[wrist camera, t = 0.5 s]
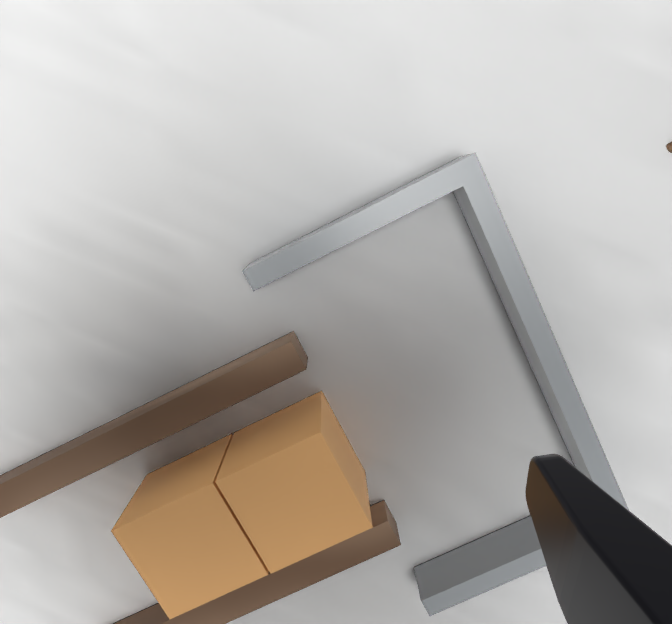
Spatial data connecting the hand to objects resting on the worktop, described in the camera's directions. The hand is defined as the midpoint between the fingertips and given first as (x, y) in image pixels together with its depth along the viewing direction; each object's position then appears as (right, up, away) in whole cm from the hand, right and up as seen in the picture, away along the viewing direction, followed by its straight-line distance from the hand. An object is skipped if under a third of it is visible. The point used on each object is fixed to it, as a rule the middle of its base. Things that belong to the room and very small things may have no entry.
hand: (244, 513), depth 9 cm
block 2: (0, -3, +15) cm, 15 cm away
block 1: (-4, -5, +15) cm, 16 cm away
